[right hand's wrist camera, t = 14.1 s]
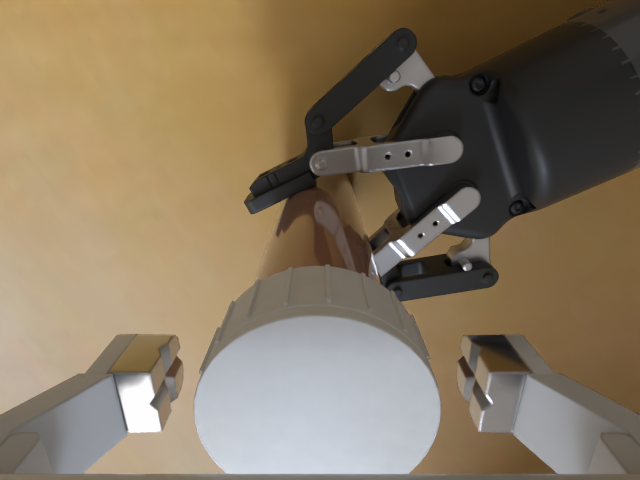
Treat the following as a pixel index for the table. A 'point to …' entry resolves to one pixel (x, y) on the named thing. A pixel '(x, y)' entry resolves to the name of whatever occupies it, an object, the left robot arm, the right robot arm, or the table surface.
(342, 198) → the tan cylinder
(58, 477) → the right robot arm
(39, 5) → the table surface
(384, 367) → the lid
